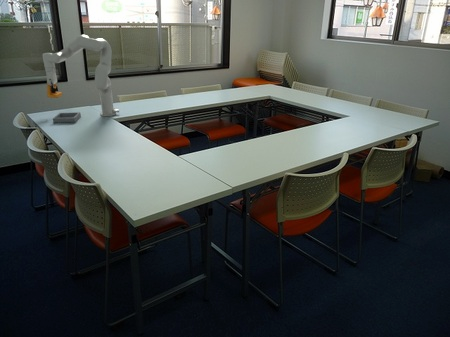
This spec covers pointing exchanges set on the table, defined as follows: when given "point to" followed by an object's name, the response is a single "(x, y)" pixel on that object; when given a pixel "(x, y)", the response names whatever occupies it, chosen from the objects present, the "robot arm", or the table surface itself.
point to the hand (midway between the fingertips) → (54, 91)
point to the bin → (67, 117)
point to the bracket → (52, 95)
